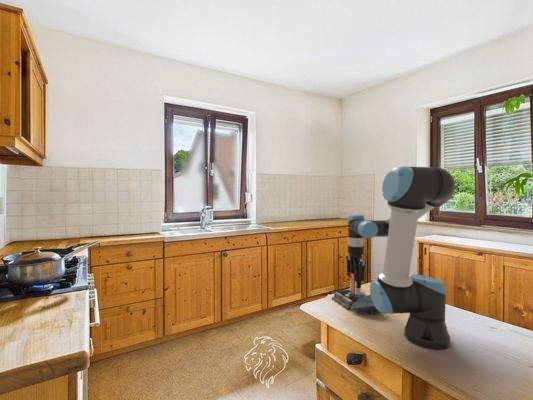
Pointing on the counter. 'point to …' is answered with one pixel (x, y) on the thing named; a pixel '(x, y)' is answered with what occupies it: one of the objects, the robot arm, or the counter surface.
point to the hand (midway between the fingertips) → (355, 292)
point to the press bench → (343, 299)
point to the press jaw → (352, 293)
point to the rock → (364, 305)
